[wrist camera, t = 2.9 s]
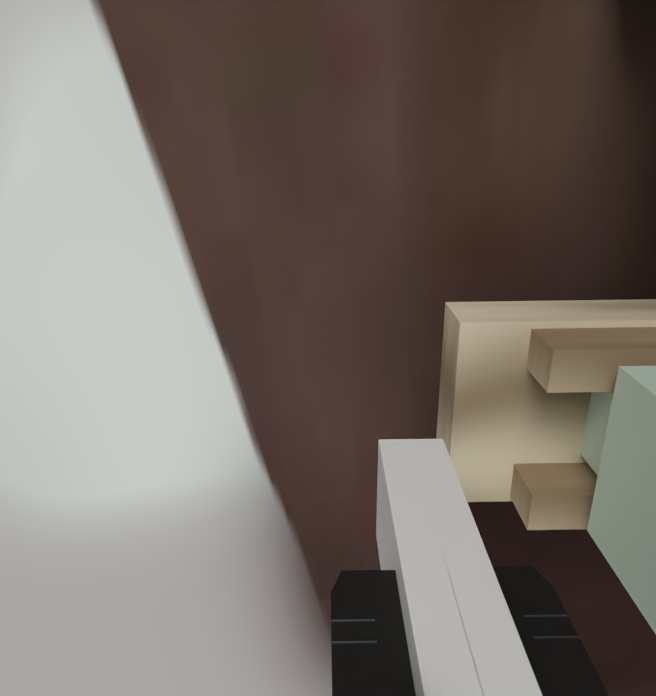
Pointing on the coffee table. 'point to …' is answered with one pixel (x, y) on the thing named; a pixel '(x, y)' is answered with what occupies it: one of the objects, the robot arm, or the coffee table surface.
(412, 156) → the coffee table surface
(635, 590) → the block
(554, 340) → the beam
